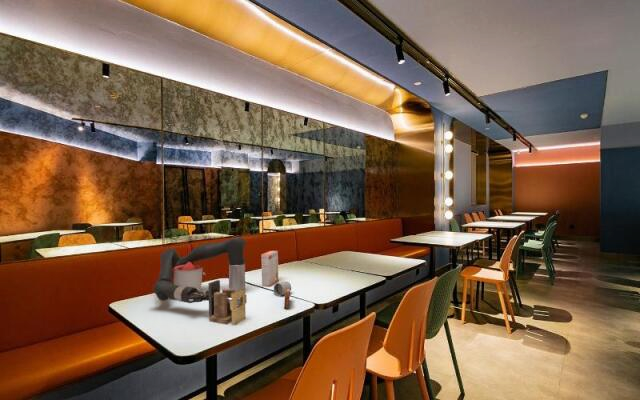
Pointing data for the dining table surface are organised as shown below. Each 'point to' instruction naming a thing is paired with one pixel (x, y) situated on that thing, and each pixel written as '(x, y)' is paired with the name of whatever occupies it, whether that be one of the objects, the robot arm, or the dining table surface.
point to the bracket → (222, 307)
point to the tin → (287, 297)
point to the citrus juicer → (188, 275)
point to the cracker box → (269, 268)
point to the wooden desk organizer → (213, 289)
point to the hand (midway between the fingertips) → (213, 298)
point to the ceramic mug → (281, 288)
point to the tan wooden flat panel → (239, 310)
